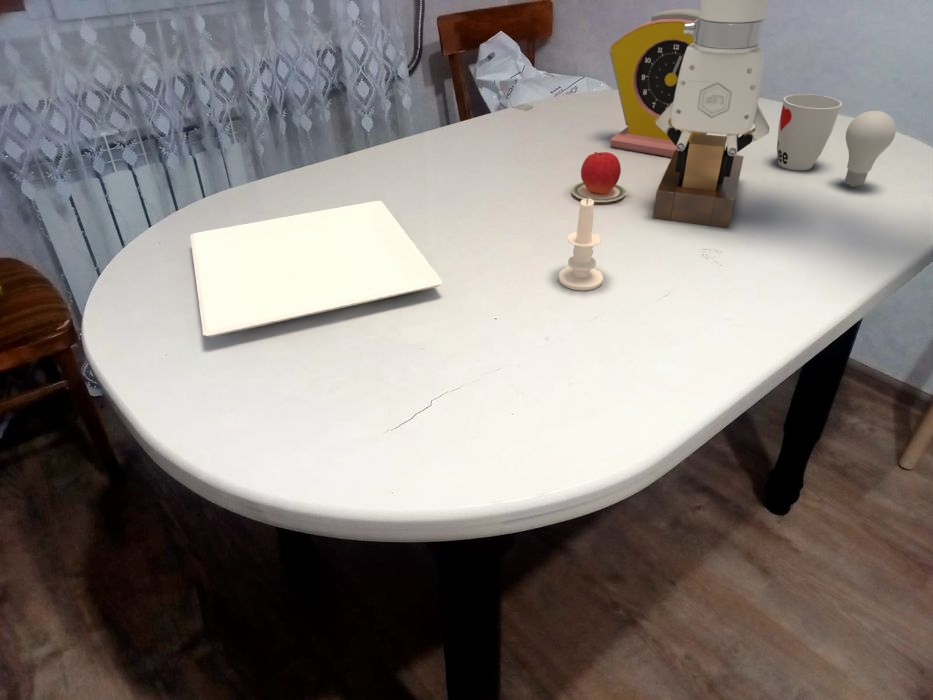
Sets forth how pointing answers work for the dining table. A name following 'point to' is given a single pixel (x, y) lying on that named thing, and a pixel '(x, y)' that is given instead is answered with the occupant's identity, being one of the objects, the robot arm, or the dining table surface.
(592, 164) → the apple
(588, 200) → the candle
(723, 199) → the holder
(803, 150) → the cup
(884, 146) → the lightbulb
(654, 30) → the yellow clock scale
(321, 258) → the plate
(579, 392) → the dining table surface
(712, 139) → the peg
